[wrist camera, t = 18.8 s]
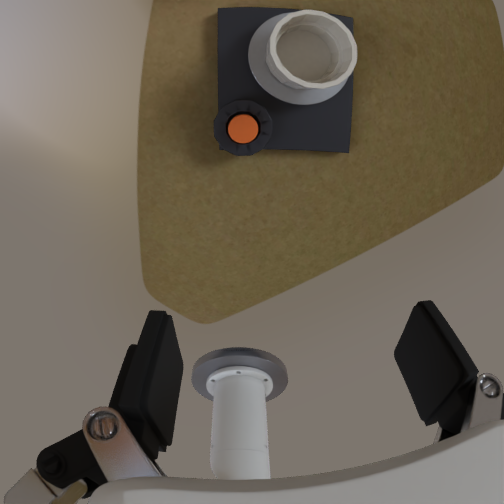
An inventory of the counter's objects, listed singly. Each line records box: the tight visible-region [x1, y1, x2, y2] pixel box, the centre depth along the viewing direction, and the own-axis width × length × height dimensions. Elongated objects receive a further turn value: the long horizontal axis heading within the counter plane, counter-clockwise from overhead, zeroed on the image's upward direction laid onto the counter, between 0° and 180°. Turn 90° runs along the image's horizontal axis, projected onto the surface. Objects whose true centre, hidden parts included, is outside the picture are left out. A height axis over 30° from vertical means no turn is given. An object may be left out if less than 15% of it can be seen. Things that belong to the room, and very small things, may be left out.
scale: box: [214, 7, 353, 156], centre depth 25 cm, size 16×14×3 cm
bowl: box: [265, 10, 357, 90], centre depth 20 cm, size 7×7×6 cm
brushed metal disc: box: [248, 12, 348, 105], centre depth 22 cm, size 10×10×1 cm
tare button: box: [228, 114, 258, 143], centre depth 26 cm, size 3×3×2 cm
